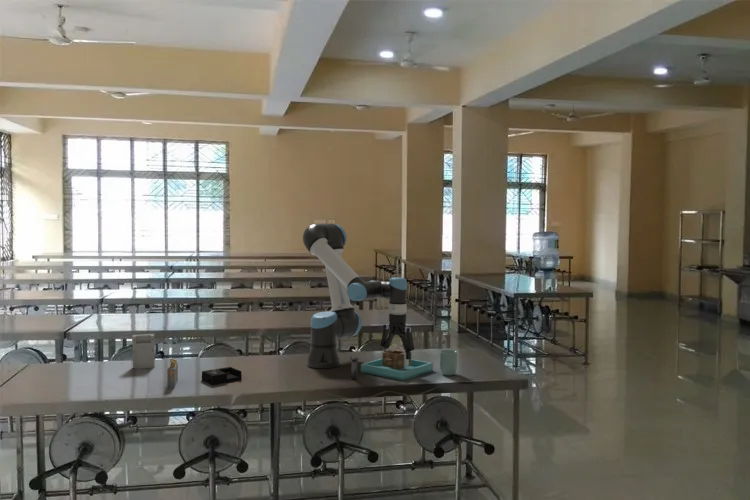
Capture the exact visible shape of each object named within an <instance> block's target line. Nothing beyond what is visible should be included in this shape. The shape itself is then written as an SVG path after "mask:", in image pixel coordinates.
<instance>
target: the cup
mask: <svg viewBox="0 0 750 500" xmlns="http://www.w3.org/2000/svg"><path fill="white" fill-rule="evenodd" d="M458 362H459V352H458V350H456V349H455V350H454V349H442V350H439V369H440V373H441V374H442V375H444V376H451V377H452V376H454V375H456V374H457V372H458V365H459V363H458Z"/></svg>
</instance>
